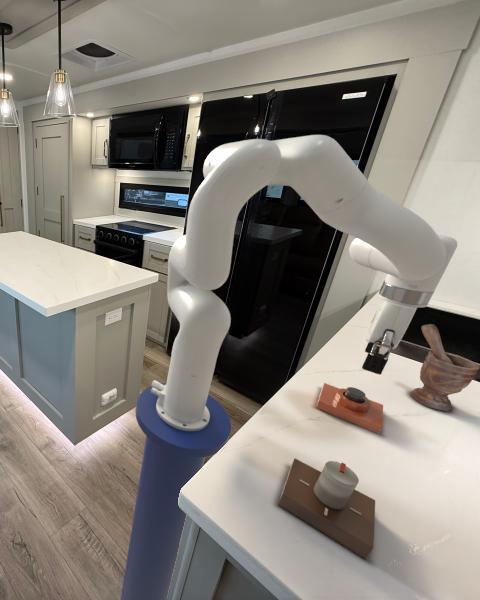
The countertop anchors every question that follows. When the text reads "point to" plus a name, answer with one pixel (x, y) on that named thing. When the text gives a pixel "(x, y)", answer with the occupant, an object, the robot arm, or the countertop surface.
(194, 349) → the robot arm
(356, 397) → the dark grey push button
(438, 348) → the mortar and pestle
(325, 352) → the countertop surface
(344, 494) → the lock knob
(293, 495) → the lock panel
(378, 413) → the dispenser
